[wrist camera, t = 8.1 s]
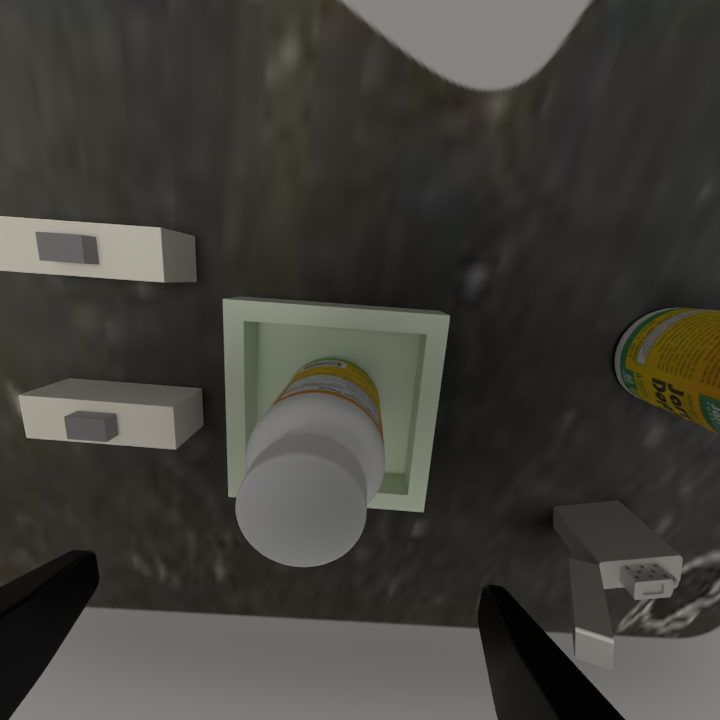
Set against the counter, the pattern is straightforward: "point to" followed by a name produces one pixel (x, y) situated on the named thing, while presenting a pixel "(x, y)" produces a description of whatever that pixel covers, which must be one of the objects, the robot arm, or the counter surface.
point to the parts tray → (348, 341)
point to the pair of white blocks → (95, 397)
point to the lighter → (610, 569)
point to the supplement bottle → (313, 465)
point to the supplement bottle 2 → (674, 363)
